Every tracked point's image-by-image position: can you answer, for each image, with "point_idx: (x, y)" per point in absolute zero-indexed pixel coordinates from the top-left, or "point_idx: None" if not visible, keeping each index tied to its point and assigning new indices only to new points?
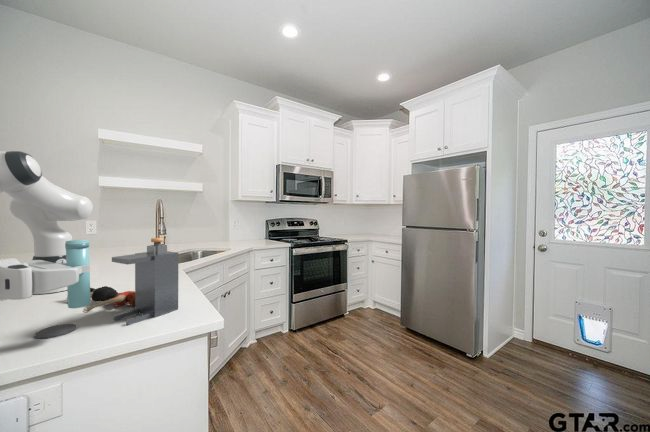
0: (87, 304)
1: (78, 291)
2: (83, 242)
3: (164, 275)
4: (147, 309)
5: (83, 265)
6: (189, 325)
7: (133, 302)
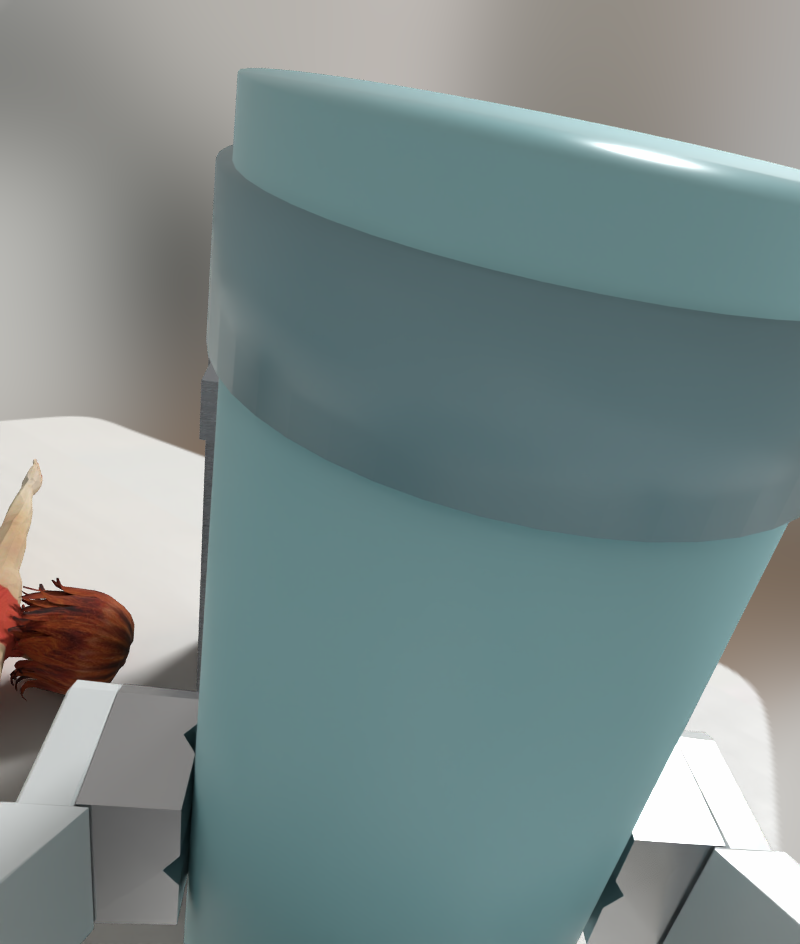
0: None
1: None
2: None
3: None
4: None
5: (702, 789)
6: (738, 771)
7: (99, 676)
